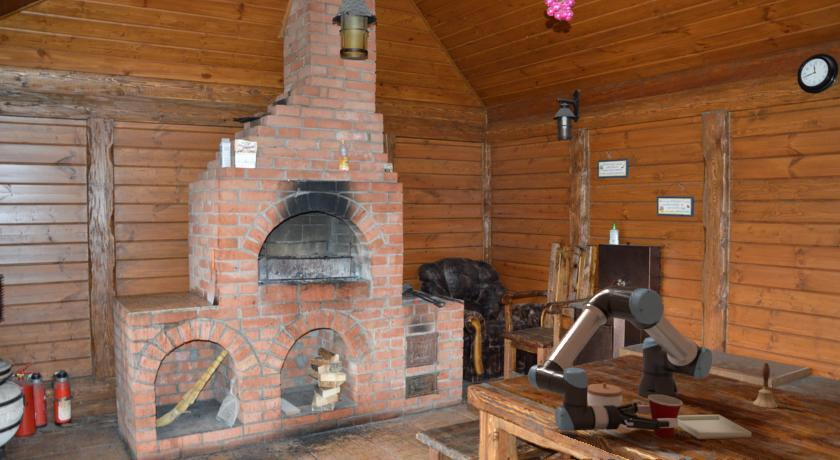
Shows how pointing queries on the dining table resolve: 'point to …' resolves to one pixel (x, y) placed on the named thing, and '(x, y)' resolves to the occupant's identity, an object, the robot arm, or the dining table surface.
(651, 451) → the dining table surface
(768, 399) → the hand bell
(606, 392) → the lidded bowl
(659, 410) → the plastic cup
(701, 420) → the tray
